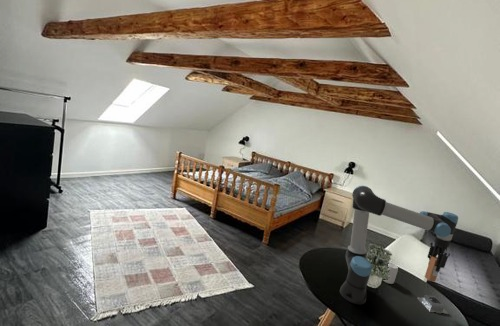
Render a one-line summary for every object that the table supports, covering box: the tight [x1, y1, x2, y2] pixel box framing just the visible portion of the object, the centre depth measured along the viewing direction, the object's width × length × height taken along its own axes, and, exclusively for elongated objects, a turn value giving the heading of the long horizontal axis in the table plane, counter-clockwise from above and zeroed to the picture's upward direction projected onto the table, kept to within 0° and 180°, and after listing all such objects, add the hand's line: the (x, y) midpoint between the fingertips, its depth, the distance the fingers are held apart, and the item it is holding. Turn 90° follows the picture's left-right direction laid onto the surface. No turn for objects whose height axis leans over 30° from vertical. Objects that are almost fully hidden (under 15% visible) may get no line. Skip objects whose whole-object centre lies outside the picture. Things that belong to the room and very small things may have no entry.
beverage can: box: [382, 262, 399, 285], centre depth 192 cm, size 8×8×12 cm
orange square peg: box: [424, 256, 438, 282], centre depth 169 cm, size 4×4×14 cm
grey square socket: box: [416, 294, 449, 315], centre depth 173 cm, size 12×12×4 cm
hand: (431, 273), depth 170 cm, fingers closed on orange square peg, 4 cm apart
